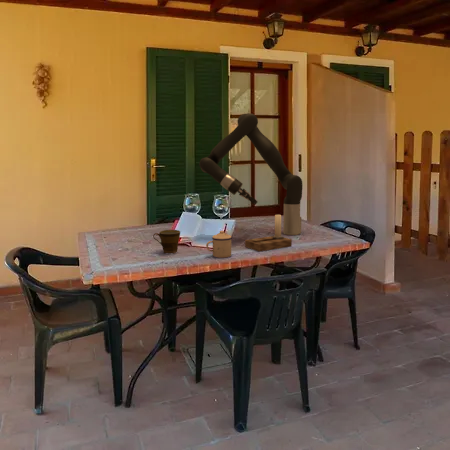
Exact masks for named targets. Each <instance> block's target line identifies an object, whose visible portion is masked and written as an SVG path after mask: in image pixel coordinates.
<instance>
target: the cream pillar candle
mask: <svg viewBox="0 0 450 450" xmlns="http://www.w3.org/2000/svg"><path fill="white" fill-rule="evenodd" d="M271 236H272V238H276V239H280V238H285V237H284V236H282V215H281V214H275V215H274V235H271Z"/></svg>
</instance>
